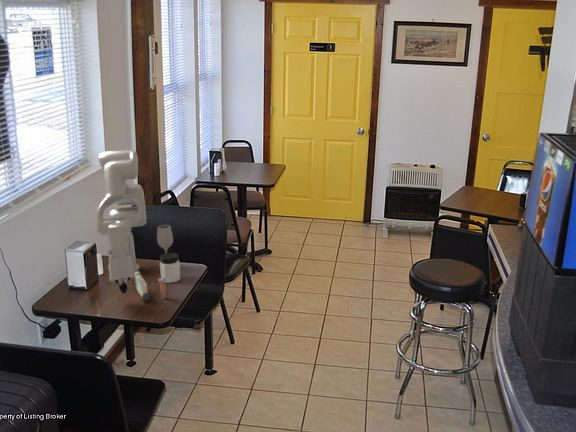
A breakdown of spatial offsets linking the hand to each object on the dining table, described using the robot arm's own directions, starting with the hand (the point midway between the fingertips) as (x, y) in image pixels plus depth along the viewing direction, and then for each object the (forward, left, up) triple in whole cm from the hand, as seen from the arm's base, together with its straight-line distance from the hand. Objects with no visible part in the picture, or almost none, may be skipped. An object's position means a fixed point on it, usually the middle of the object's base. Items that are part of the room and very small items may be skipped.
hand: (123, 292), depth 275 cm
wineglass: (-14, +39, -5) cm, 42 cm away
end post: (+11, +13, -5) cm, 17 cm away
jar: (-1, +29, -5) cm, 29 cm away
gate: (+1, +10, -5) cm, 11 cm away
